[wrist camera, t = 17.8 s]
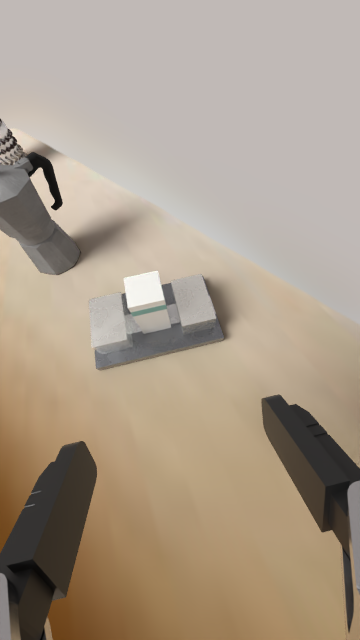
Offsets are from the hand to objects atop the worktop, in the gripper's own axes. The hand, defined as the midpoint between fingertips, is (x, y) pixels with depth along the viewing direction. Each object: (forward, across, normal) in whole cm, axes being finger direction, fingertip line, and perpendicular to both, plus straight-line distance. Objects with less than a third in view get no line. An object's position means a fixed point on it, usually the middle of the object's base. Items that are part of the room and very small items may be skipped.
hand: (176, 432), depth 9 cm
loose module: (+26, +2, +3) cm, 26 cm away
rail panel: (+27, +2, +4) cm, 27 cm away
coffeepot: (+41, +18, -10) cm, 46 cm away
